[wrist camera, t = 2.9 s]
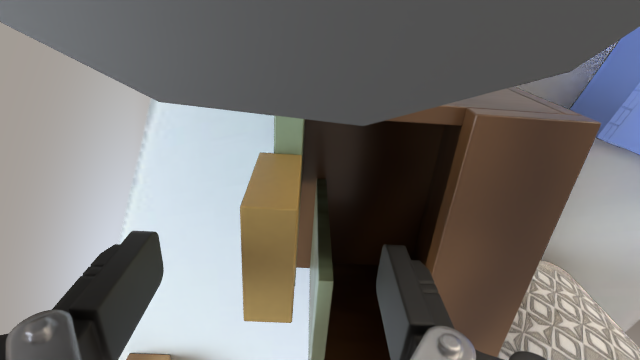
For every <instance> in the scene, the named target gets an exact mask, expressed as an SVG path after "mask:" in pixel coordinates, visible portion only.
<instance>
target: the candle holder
mask: <svg viewBox="0 0 640 360" xmlns="http://www.w3.org/2000/svg"><path fill="white" fill-rule="evenodd" d="M0 22H1V23H3V24H5V25H7V26H9V27H11V28H13V29H15V30H17V31H19V32H21V33H23V34H25V35H27V36H29V37H31V38H33V39H35V40H37V41H39V42H41V43H43V44H45V45H47V46H49V47H51V48H53V49H55V50H57V51H59V52H61V53H63V54H65V55H67V56H69V57H71V58H73V59H75V60H77V61H79V62H81V63H83V64H85V65H87V66H89V67H91V68H93V69H95V70H97V71H99V72H101V73H103V74H105V75H107V76H109V77H111V78H113V79H115V80H117V81H119V82H121V83H123V84H125V85H127V86H129V87H131V88H133V89H135V90H137V91H139V92H141V93H143V94H145V95H147V96H149V97H151V98H153V99H155V100H157V101H159V102H165V103H173V104H181V105H190V106H198V107H207V108H215V109H223V110H232V111H240V112H249V113H257V114H266V115H274V116H282V117H291V118H299V119H308V120H316V121H324V122H333V123H341V124H350V125H358V126H366V125H370V124H373V123H377V122H381V121H385V120H389V119H392V118H396V117H400V116H404V115H407V114H411V113H415V112H419V111H423V110H426V109H430V108H434V107H438V106H442V105H445V104H449V103H453V102H457V101H461V100H464V99H468V98H472V97H476V96H480V95H483V94H487V93H491V92H495V91H499V90H502V89H506V88H510V87H514V86H518V85H521V84H525V83H529V82H533V81H536V80H540V79H544V78H548V77H552V76H555V75H559V74H563V73H567V72H570V71H572V70H573V69H575V68H576V67H578V66H580V65H581V64H583V63H584V62H586V61H587V60H589V59H590V58H592V57H593V56H595V55H597V54H598V53H600V52H601V51H603V50H604V49H606V48H607V47H609V46H610V45H612V44H613V43H615V42H617V41H618V40H620V39H621V38H623V37H624V36H626V35H627V34H629V33H630V32H632V31H634V30H635V29H637V28H638V27H640V0H0Z"/></svg>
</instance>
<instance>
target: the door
mask: <svg viewBox="0 0 640 360" xmlns="http://www.w3.org/2000/svg"><path fill="white" fill-rule="evenodd" d="M304 134H305V119H299V118H291V117H282V116H275V119H274V153H260V154H259V156H258V159H257V162H256V165H255V167H254V170H253V173H252V176H251V179H250V181H249V184H248V187H247V190H246V192H245V195H244V198H243V201H242V203H241V206H240V221H241V251H242V281H243V310H244V321H257V322H282V323H291V322H292V313H293V299H294V286H295V277H296V262H297V247H298V232H299V217H300V202H301V187H302V170H303V152H304Z"/></svg>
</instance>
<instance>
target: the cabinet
mask: <svg viewBox="0 0 640 360" xmlns="http://www.w3.org/2000/svg"><path fill="white" fill-rule="evenodd" d="M600 126H601V123H600V122H598V121H596V120H593V119H591V118H588V117H586V116H583V115H581V114H579V113H576V112H574V111H571V110H569V109H566V108H564V107H562V106H559V105H557V104H554V103H552V102H549V101H547V100H545V99H542V98H540V97H537V96H535V95H533V94H530V93H528V92H525V91H523V90H520V89H518V88H516V87H510V88H506V89H502V90H499V91H495V92H491V93H487V94H483V95H480V96H476V97H472V98H468V99H464V100H461V101H457V102H453V103H449V104H445V105H442V106H438V107H434V108H430V109H426V110H423V111H419V112H415V113H411V114H407V115H404V116H400V117H396V118H392V119H389V120H385V121H381V122H377V123H373V124H370V125H366V126H358V125H350V124H341V123H333V122H324V121H316V120H308V119H305V134H304V152H303V170H302V187H301V202H300V217H299V232H298V247H297V262H296V267H299V268H310V289H309V358H308V360H391V358H390V353H389V349H388V344H387V339H386V335H385V330H384V325H383V321H382V316H381V311H380V307H379V302H378V297H377V291H376V280H377V273H378V268H379V263H380V257H381V252H382V247H383V245H384V244H387V245H404V246H405V247H406V249H407V251H408V254H409V257H410V259H411V260H420V261H421V262H422V263H423V264H424V266H425V267H426V268H427V269H428V270H429V271H430V273H431V275H432V278H433V280H434V284H435V285H436V287H437V289H438V294H440V296H441V298H442V301H443V303H444V305H445V308H446V310H447V312H448V315H449V317H450V319H451V322H452V324H453V326H454V328H455V330H457V331H459V332H461V333H462V334H463V335H465V336H466V337H467V338H468V339H469V340H470V342H471V343H472V344H473V346H474V348H475V349H476V350H478V351H480V352H482V353H485V354H488V355H491V356H494V357H498V354H499V352H500V350H501V348H502V345H503V343H504V341H505V339H506V336H507V334H508V332H509V330H510V327H511V325H512V323H513V321H514V318H515V316H516V314H517V312H518V310H519V307H520V305H521V303H522V301H523V298H524V296H525V294H526V292H527V289H528V287H529V285H530V283H531V280H532V278H533V276H534V274H535V271H536V269H537V267H538V265H539V262H540V260H541V258H542V256H543V254H544V251H545V249H546V247H547V245H548V242H549V240H550V238H551V236H552V233H553V231H554V229H555V227H556V224H557V222H558V220H559V218H560V215H561V213H562V211H563V209H564V207H565V204H566V202H567V200H568V198H569V195H570V193H571V191H572V189H573V186H574V184H575V182H576V180H577V177H578V175H579V173H580V171H581V168H582V166H583V164H584V162H585V159H586V157H587V155H588V153H589V151H590V148H591V146H592V144H593V142H594V139H595V137H596V135H597V133H598V130H599V128H600Z"/></svg>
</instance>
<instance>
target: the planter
mask: <svg viewBox="0 0 640 360" xmlns="http://www.w3.org/2000/svg"><path fill="white" fill-rule="evenodd" d="M518 351H527V352H532V353H535V354H538V355H540V356H542V357H544V358H545V359H547V360H640V348H639V347H638V346H637V345H636V344H635V343H634V342H633V341H632V340H631V339H630V338H629V337H628V336H627V335H626V333H625V332H624V331H623V330H622V329H621V328H620V327H619V326H618V325H617V324H616V323H615V322H614V321H613V320H612V319H611V317H610V316H609V315H608V314H607V313H606V312H605V311H604V310H603V309H602V308H601V307H600V306H599V305H598V304H597V303H596V302H595V301H594V300H593V299H592V297H591V296H590V295H589V294H588V293H587V292H586V291H585V290H584V289H583V288H582V287H581V286H580V285H579V284H578V283H577V282H576V281H575V280H574V279H573V278H572V277H571V276H570V275H569V274H568V273H567V272H566V271H565V270H563V269H561V268H560V267H558V266H557V265H554V264H552V263H549V262H546V261H542V260H540V262H539V265H538V267H537V269H536V271H535V274H534V276H533V278H532V280H531V283H530V285H529V287H528V289H527V292H526V294H525V296H524V298H523V301H522V303H521V305H520V307H519V310H518V312H517V314H516V316H515V318H514V321H513V323H512V325H511V327H510V330H509V332H508V334H507V336H506V339H505V341H504V343H503V345H502V348H501V350H500V352H499V354H498V357H497V358H501V359H504V360H509V358H510V356H511V355H512V354H513V353H515V352H518Z"/></svg>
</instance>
